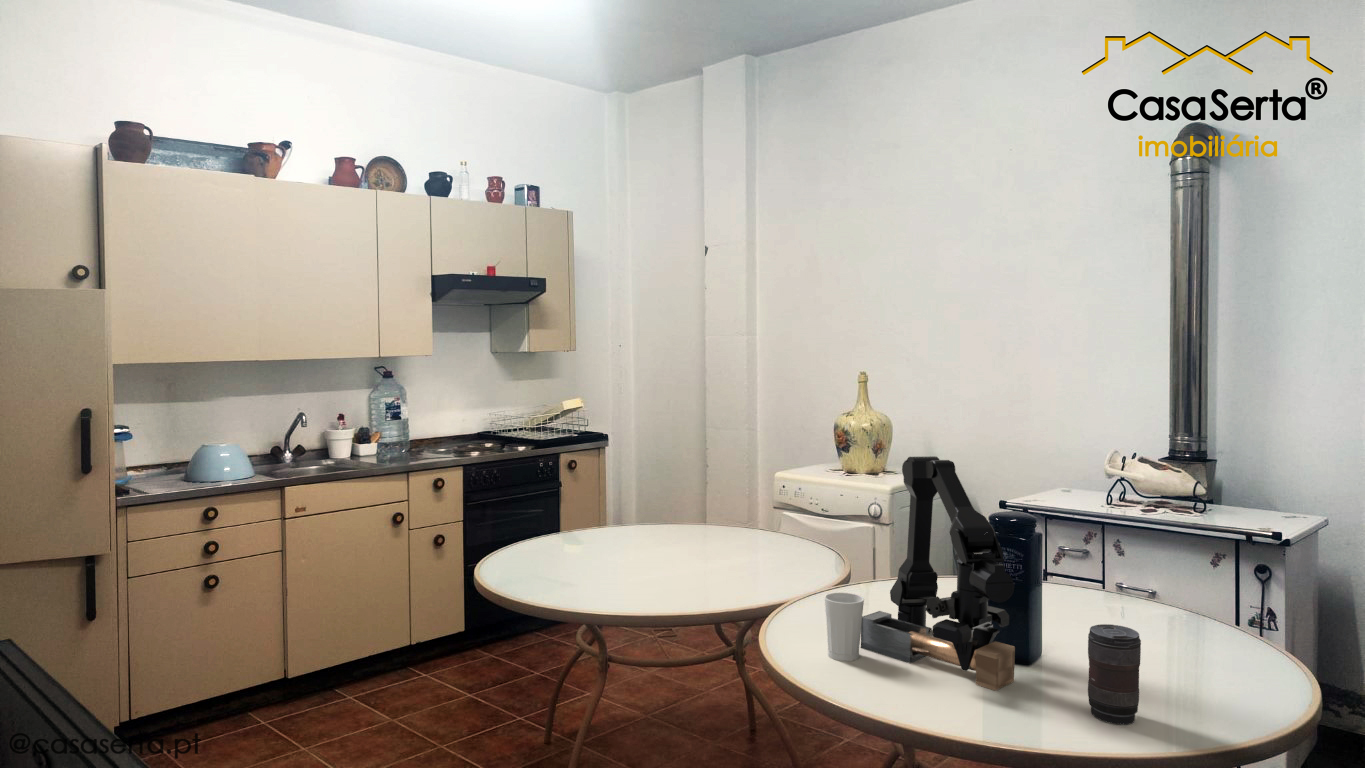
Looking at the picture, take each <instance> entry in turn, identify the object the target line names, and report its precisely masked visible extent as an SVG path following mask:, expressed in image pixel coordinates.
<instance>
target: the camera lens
mask: <svg viewBox="0 0 1365 768" xmlns="http://www.w3.org/2000/svg"><path fill="white" fill-rule="evenodd" d="M1087 637H1088V640H1087V656H1088V666H1089V667H1088V681H1087V696H1088V704H1089V706H1090V713H1091V715H1092V716H1093V717H1094V718H1096V719H1098V720H1100V721H1102V722H1105V723H1109V724H1113V725H1121V724H1124V725H1130V724H1129V723H1131V724H1133V723H1134V722H1135V721H1136V718H1135V717H1136V714H1137V713H1138V710H1139V702H1140V666H1141V653H1142V652H1141V651H1142V647H1141V645H1142V640H1141V638H1140V633H1139V632H1138V631H1137V630H1135V629H1133V628H1130V627H1127V626H1123V625H1118V624H1117V625H1116V624H1109V623H1108V624H1107V623H1103V624H1095V625H1092V626H1090V627H1089V633H1088V636H1087ZM1133 721H1134V722H1133ZM1132 722H1133V723H1132Z"/></svg>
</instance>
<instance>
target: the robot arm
mask: <svg viewBox="0 0 1365 768" xmlns="http://www.w3.org/2000/svg"><path fill="white" fill-rule="evenodd" d="M901 471H902V477H903V483H904V486H905V488H906V489H907V491H908V493H909V496H910V497H909V513H908V514H909V515H908V531H907V532H908V533H907V549H906V558H905V560H904V561H903V563H902V564H901V566H900V567H899V568H898V573H897V579H896V580H895V582H894V583H893V586H892V587H891V588H890V590H889V591H890V592H889V594H890V595H889V596H890V601H891V602H892V603H894V604H895V605H896V606H898V607H897V609H898V611H897V619H898V620H901V621H905V622H909V623H912V624H916V625H920V626H923V627H927V628H929V631H928V633H929V632H932V637H935V638H938V639H942V640H945V641H949V642H952V643H953V645H954V647H955V650H956V653H957V656H958V659H959V662H960V666H959V667H960V668H961V671H965V672H967V671H968V670H970V669H969V666H970V663H971V660H972V657H973V654H974V651H975V649H978V648H981V647H983V646H985V645H988V644H990V643H992V642H994V640H995V638H996V636H997V634H999V633H1000V629H999V628H1005V627H1007V626H1010V614H1009V613H1008V612H1007V610H1006V609H1003V608H999V607H994V606H990V605H989V601H992V602H994V603H999V604H1000V603H1005V602H1007V601H1008V600H1010V599H1011V597H1012V596H1013V594H1014V591H1015V586H1016V585H1015V582H1014V580H1013V579H1014V578H1013V577H1012V576H1011V575H1010V574H1009V573H1007V572H1005V568H1006V567H1005V565H1004V564H1002V563H1004V562H1005V559H1004V556H1003V554H1004V551H1003V549H1002V546H1001V544H1000V542H999V539H998V536H997V533H996V531H995V530H994V528H993V526H992V525H991V523H990V521H989V520H988V519H987V517H986V516H985V515H983V514H982V513H980V512H978V511H977V510H975V508H974V506H973V505H972V502H971V500H970V498H969V495H968V494H967V492H966V490H965V488H964V487H963V484H962V482H961V480H960V479H959V477H958V473H957V472H956V465H955V463H954V461H953V460H950V459H940V458H939V457H938V456H931V455H930V456H908V457H907V459H906V460H904V461H903V463H902V467H901ZM937 494H938V495H939V497H940V500H941V502H942V505H943V506H944V508H945V510H946V513H947V515H948V517H949V519H950V522H951V527H950V529H949V536H950V539H951V544H952V546H953V548H954V550H955V554H954V555H953V559H954V560H955V561H957V571H956V574H957V577H956V578H957V579H956V590H954V591H952V593H950V596H946V597H942V598H940V597H939V596H937V595H938V590H939V585H938V576H939V575H938V574H937V572H936V571H935V570H934V568H933V566H932V564H931V563H930V555H931V540H932V523H933V522H932V521H933V506H934V498H935V497H936V495H937ZM986 532H988V533H986ZM985 533H986V534H985ZM984 534H985V535H984ZM990 552H991V553H990ZM927 614H928V615H930V616H931V617H932V619H937V618H938V617H944V616H948V618H949V619H948V618H947V619H943V620H940V621H938V622H936V623H935V624H933V625H932V627H929V626H927ZM954 620H955V621H954ZM956 620H957V621H956ZM992 622H995V623H997V625H998V627H999V628H994V624H992Z"/></svg>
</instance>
